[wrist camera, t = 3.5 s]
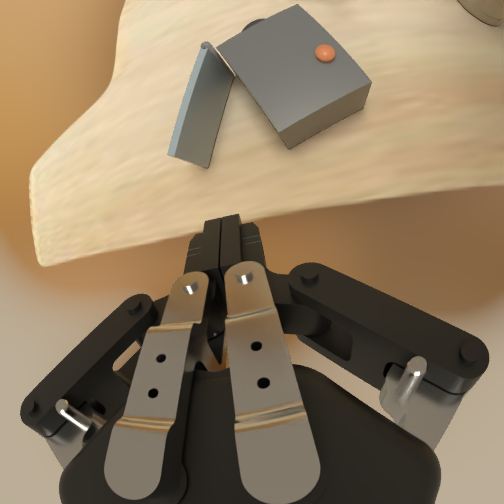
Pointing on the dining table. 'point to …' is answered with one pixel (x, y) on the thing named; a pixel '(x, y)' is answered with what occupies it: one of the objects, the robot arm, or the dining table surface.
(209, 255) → the robot arm
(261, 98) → the box
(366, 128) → the dining table surface
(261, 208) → the dining table surface
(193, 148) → the door
